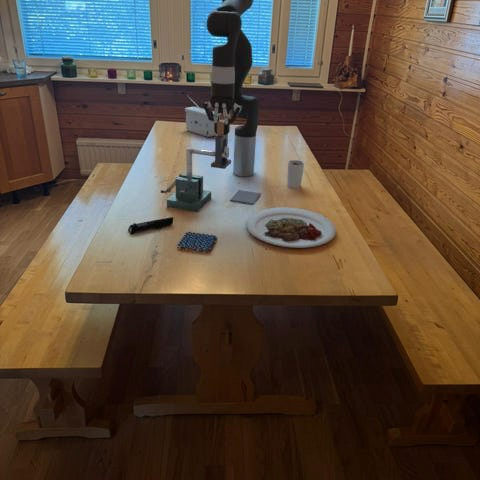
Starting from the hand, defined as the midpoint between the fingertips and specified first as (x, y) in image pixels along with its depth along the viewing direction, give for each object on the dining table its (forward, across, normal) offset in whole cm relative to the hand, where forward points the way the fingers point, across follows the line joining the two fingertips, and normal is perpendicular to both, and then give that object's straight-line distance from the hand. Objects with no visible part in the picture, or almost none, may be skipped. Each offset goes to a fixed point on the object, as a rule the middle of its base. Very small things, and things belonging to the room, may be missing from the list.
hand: (221, 133), depth 154 cm
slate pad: (+27, -6, -13) cm, 31 cm away
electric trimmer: (+28, +16, +25) cm, 40 cm away
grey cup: (+28, -21, -34) cm, 48 cm away
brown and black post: (+11, 0, 0) cm, 11 cm away
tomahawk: (+28, +24, -16) cm, 40 cm away
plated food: (+28, -28, +8) cm, 40 cm away
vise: (+27, +8, +1) cm, 28 cm away
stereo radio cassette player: (+28, +46, -96) cm, 109 cm away
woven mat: (+28, -3, +29) cm, 40 cm away
